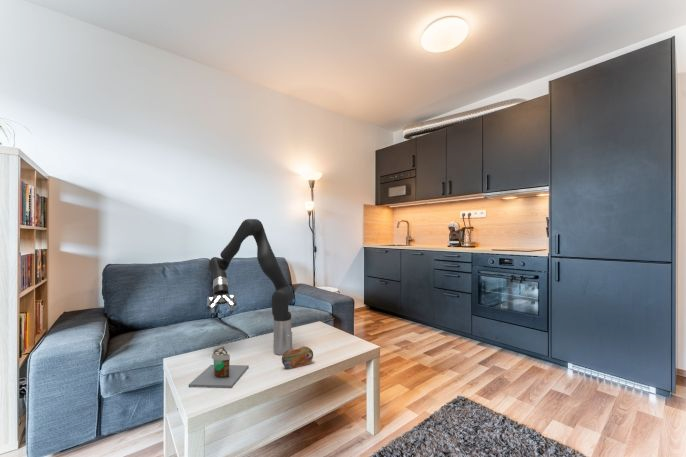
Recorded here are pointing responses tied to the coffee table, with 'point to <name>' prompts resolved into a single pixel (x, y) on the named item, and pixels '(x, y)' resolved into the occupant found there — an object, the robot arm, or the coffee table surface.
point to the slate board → (212, 381)
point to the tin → (297, 357)
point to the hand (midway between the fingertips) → (222, 313)
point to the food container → (221, 362)
